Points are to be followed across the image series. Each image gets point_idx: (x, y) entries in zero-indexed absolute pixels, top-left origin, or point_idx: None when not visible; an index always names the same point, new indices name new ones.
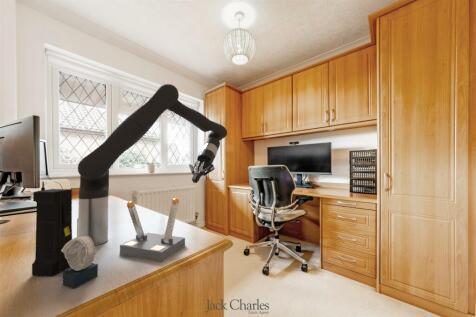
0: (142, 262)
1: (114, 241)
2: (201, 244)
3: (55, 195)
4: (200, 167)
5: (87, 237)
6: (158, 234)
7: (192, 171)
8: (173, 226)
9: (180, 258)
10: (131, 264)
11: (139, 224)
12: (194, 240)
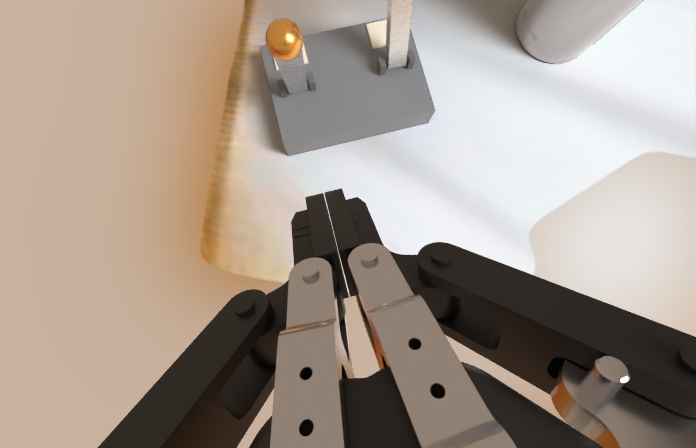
0: None
1: (508, 66)
2: (253, 192)
3: None
4: (313, 343)
5: None
6: (386, 119)
7: (435, 254)
8: (285, 82)
9: (241, 100)
10: (321, 22)
11: (389, 11)
12: (296, 203)
